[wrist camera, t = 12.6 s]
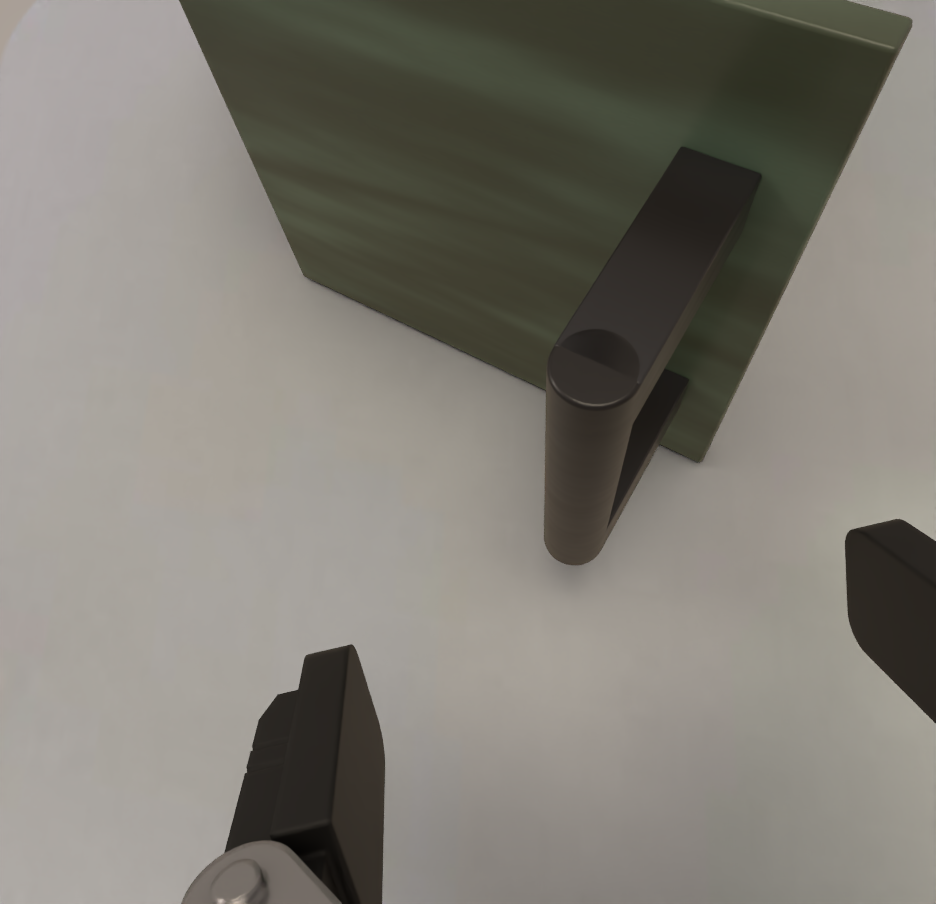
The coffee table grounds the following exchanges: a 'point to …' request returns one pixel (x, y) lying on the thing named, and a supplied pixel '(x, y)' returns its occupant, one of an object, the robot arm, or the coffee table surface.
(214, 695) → the coffee table surface
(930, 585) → the robot arm
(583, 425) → the door
